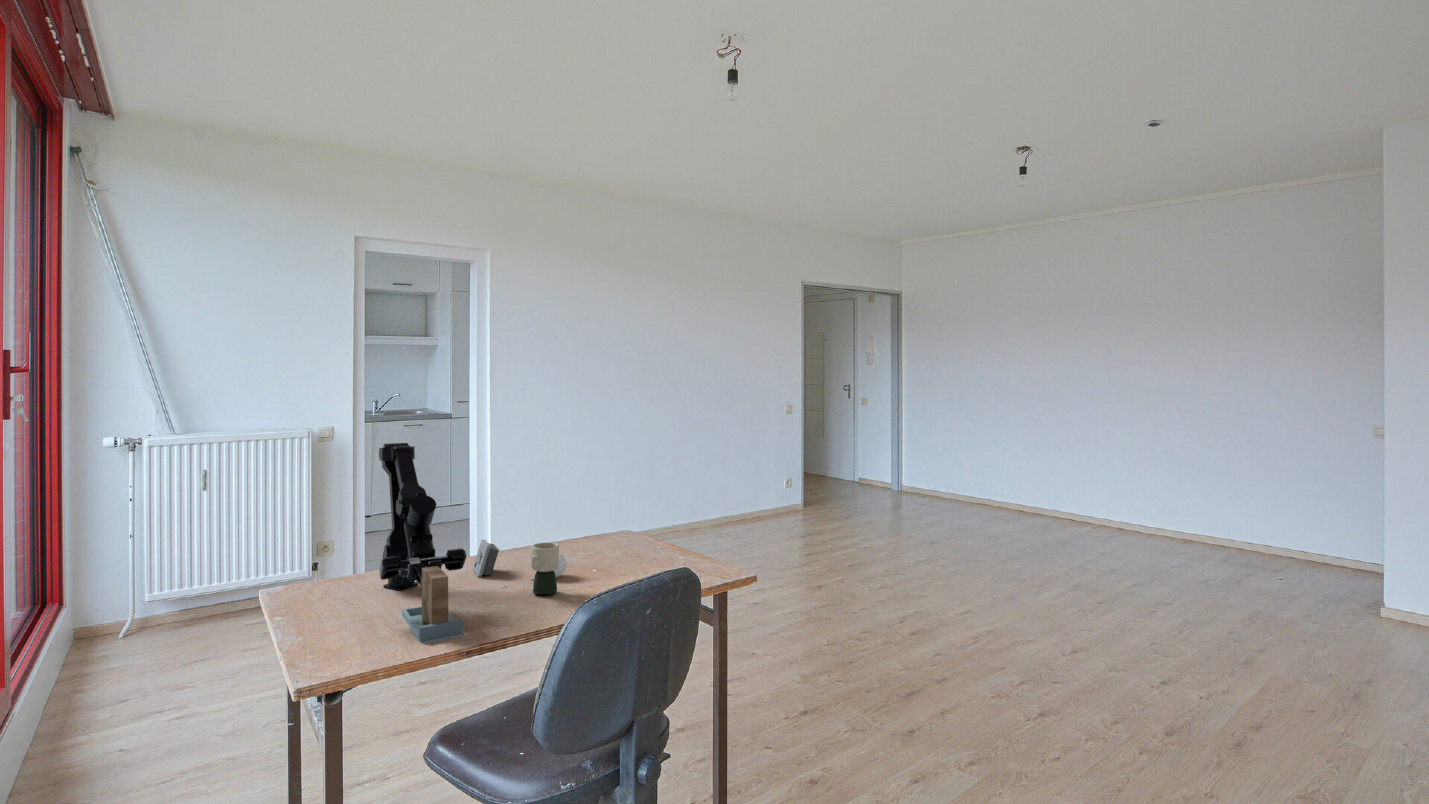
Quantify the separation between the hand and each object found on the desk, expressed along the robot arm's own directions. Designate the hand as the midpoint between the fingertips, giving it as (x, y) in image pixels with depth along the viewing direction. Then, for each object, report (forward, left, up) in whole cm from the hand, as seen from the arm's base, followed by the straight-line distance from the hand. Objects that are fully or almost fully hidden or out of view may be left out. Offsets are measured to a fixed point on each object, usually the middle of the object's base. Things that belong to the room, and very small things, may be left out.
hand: (429, 594), depth 169 cm
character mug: (+8, +31, -7) cm, 33 cm away
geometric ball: (0, +44, -7) cm, 45 cm away
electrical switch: (-20, +38, -7) cm, 44 cm away
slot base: (+2, -1, -7) cm, 7 cm away
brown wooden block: (+5, -3, -6) cm, 8 cm away
